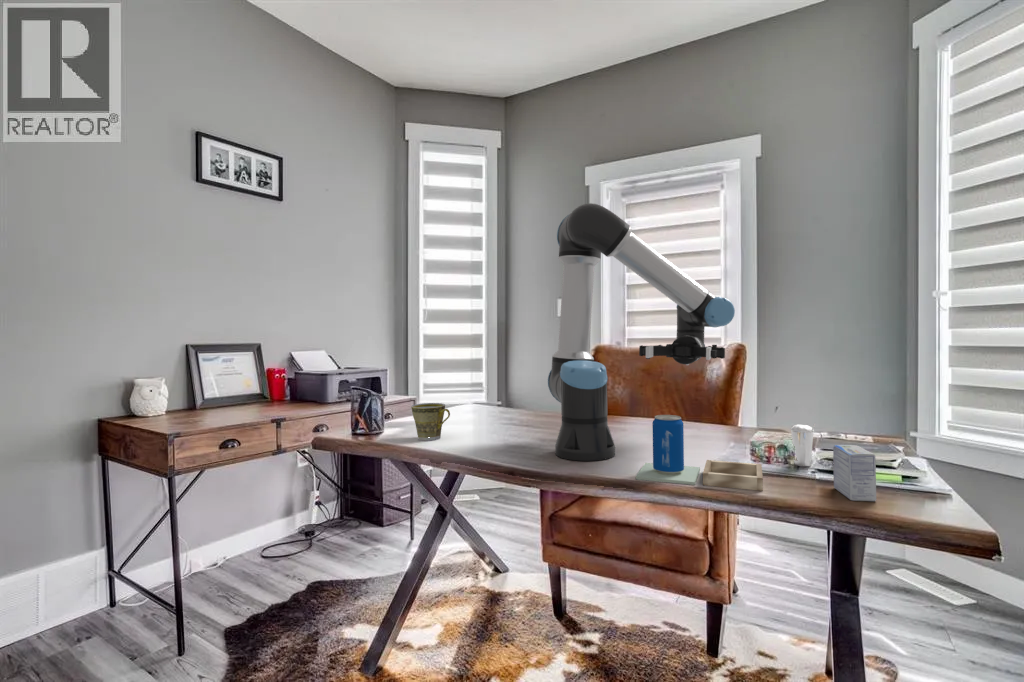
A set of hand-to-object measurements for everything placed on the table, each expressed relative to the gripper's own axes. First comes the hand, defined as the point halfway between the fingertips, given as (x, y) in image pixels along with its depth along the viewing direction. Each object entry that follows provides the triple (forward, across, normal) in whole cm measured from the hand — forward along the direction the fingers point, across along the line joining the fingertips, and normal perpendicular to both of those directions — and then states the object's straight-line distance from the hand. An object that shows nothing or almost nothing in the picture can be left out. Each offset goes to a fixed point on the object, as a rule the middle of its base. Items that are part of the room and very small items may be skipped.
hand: (676, 353), depth 125 cm
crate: (+10, -13, -26) cm, 30 cm away
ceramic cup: (-6, +70, -28) cm, 75 cm away
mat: (+10, 0, -26) cm, 28 cm away
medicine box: (+12, -34, -26) cm, 44 cm away
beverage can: (+10, 0, -26) cm, 27 cm away
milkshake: (-8, -27, -25) cm, 38 cm away
